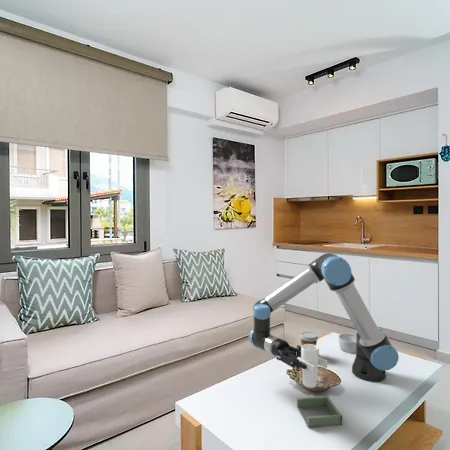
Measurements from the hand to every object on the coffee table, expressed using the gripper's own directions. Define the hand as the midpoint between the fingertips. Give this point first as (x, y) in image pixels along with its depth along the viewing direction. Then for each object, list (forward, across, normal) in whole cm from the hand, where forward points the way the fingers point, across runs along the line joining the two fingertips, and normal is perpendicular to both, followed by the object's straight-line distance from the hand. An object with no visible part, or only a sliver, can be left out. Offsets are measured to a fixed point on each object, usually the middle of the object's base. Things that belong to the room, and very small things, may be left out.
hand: (320, 367), depth 125 cm
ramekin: (-31, -66, -21) cm, 76 cm away
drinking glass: (-5, 0, -9) cm, 10 cm away
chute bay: (-2, -2, -21) cm, 21 cm away
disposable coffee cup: (-39, -40, -21) cm, 60 cm away
